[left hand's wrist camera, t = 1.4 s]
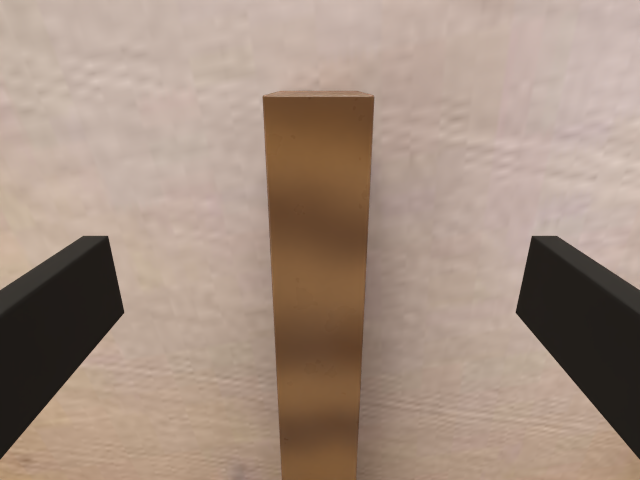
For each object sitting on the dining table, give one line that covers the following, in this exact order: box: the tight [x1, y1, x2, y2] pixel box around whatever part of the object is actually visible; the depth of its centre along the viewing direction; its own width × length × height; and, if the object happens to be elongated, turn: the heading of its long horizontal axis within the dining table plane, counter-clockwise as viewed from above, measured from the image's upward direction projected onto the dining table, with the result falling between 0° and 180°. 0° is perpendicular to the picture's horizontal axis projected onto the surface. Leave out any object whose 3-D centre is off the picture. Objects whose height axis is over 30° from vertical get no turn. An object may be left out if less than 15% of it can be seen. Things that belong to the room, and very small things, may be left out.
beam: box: [263, 91, 374, 480], centre depth 30 cm, size 52×5×8 cm, turn 0°
